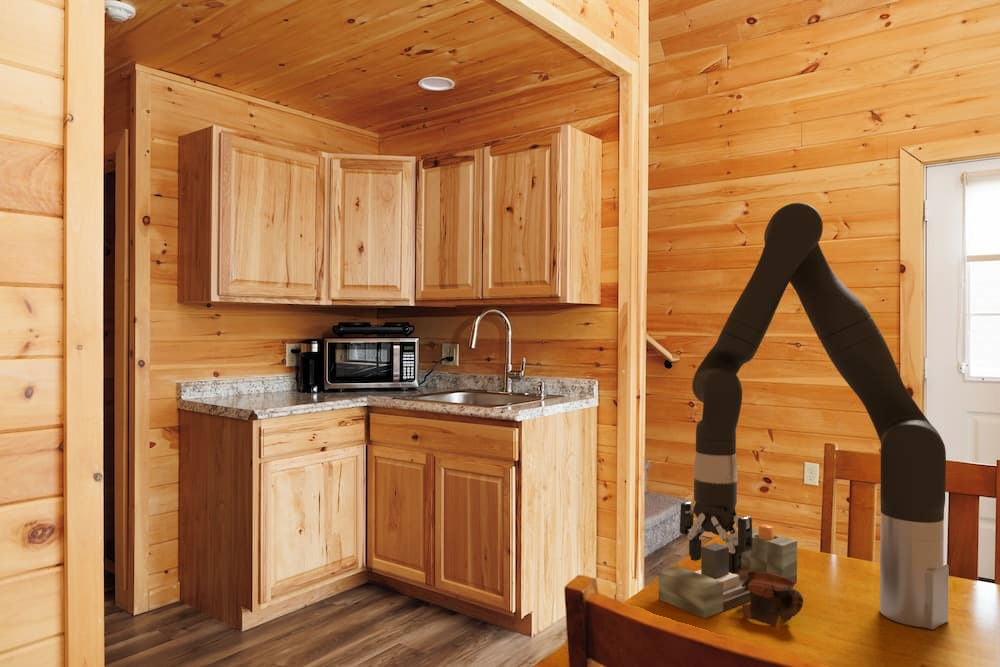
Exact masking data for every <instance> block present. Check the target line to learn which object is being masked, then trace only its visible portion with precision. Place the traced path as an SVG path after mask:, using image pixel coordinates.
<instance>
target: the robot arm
mask: <svg viewBox="0 0 1000 667" xmlns="http://www.w3.org/2000/svg"><path fill="white" fill-rule="evenodd" d="M823 224H824V223H823V218H822V216H821V215H820V213H819V211H818V210H817V209H816V208H815V207H813V206H812V205H810V204H807V203H803V202H793V203H789V204H786V205H784V206H781V207H780V208H779V209H778V210H777V211H775V212H774V213H773V215H772V216H771V217H770V219H769V221H768V222H767V226H766V227H765V231H764V233H763V234H764V235H763V236H764V237H763V241H764V246H763V249H762V252H761V255H760V257H759V260H758V262H757V265H756V266H755V268H754V270H753V273H752V275H751V277H750V279H749V280H748V282H747V284H746V285H745V287H744V288H743V291H742V293H741V294H740V296H739V298H738V299H737V301H736V303H735V304H734V306H733V308H732V310H731V312H730V313H729V316H728V317H727V320H726V321H725V323H724V326H723V328H722V330H721V332H720V334H719V336H718V338H717V341H716V342H715V344H714V345H713V347H712V348H711V349H710V350H709V352H708V353H707V354H706V356H705V357H704V358H703V359H702V361H701V363H700V365H699V366H698V367H697V370H696V371H695V373H694V376H693V378H692V384H691V386H692V387H691V388H692V393H693V395H694V397H695V398H696V399H697V400H698V401H699V402H701V403H703V405H702V406H703V407H702V416H701V420H699V421H698V422H697V423H696V424H697V425H696V428H695V455H694V461H693V462H694V463H693V501H694V502H695V503H694V502H693V501H692V500H690V501H685V502H682V503H680V511H679V512H680V515H679V516H680V517H679V534H681V535H685V536H686V537H687V539H688V542H689V543H688V553H689V554H688V555H689V556H690V559H691V561H694V562H696V561H699V560H700V561H701V547H702V539H701V537H702V536H703V534H704V533H705V532H706V533H712V534H713V535H716V536H719V537H720V538H721V540H722V541H723V542H724V543H725V545H726V546H728V548H729V573H731V574H735V573H738V572H739V570H741V568H742V553H743V552H746V551H749V550H752V548H753V546H752V529H753V519H752V517H751V516H750V515H746V516H741V515H738V514H737V511H736V506H737V503H738V462H737V434H736V432H737V426H738V423H739V419H740V413H741V408H742V405H743V404H742V401H743V388H742V382H741V380H740V378H739V376H738V375H737V374H738V373H739V371H740V369H741V368H742V366H743V365H744V364H747V363H749V362H751V361H752V360H753V358H754V356H755V355H756V353H757V351H758V349H759V348H760V345H761V343H762V341H763V340H764V337H765V335H766V333H767V331H768V329H769V327H770V324H771V322H772V320H773V319H774V316H775V313H776V311H777V308H778V307H779V305H780V302H781V300H782V297H783V296H784V293H785V291H786V289H787V287H788V285H789V283H790V285H791V286H792V288H793V289H794V292H795V293H796V294H797V297H798V299H799V301H800V303H801V306H802V308H803V310H804V312H805V313H806V316H807V318H808V320H809V323H810V324H811V325H812V328H813V329H814V332H815V333H816V336H817V337H818V339H819V341H820V343H821V345H822V347H823V348H824V350H825V353H827V354H826V355H827V356H828V358H829V359H830V361H831V362H832V364H833V366H834V367H835V369H836V370H837V372H838V373H839V374H840V375H841V377H842V378H843V380H844V381H845V382H846V384H848V386H849V387H850V388H851V389H852V391H853V392H854V393H855V394H856V395H857V397H858V399H859V400H860V401H861V403H862V405H863V407H864V409H865V410H866V412H867V414H868V416H869V418H870V420H871V422H872V425H873V427H874V430H875V432H876V434H877V436H878V440H879V442H880V493H879V494H880V495H879V499H880V502H879V503H880V528H879V529H880V532H879V533H880V538H879V539H880V541H879V542H880V544H879V547H880V549H879V551H880V552H879V554H880V555H879V612H880V613H881V614H882V616H884V617H885V618H887V619H889V620H891V621H894V622H896V623H898V624H899V623H900V624H902V625H906V626H911V627H917V628H918V627H919V628H925V629H929V630H935V629H937V628H938V627H940V626H942V625H944V624H945V623H947V622H949V595H950V594H949V592H950V591H949V588H950V587H949V584H950V582H949V578H950V575H949V574H950V572H949V571H950V570H949V564H948V563H946V562H945V561H944V557H945V556H944V554H945V553H944V552H945V550H944V546H945V544H944V542H945V540H944V539H945V538H944V537H945V507H946V506H945V505H946V486H947V484H946V482H947V481H946V478H947V477H946V476H947V472H946V471H947V454H946V453H947V452H946V445H945V443H944V440H943V439H942V436H941V435H940V433H939V431H938V430H937V429H936V428H935V426H933V424H932V423H931V422H930V420H928V418H927V417H926V415H925V414H924V413H923V412H922V410H921V408H919V406H918V405H917V403H916V402H915V400H914V399H913V398H912V396H911V394H910V393H909V391H908V390H907V387H906V386H905V384H904V382H903V379H902V378H901V375H900V373H899V370H898V368H897V364H896V362H895V360H894V357H893V356H892V353H891V350H890V348H889V346H888V345H887V344H888V343H887V342H886V340H885V338H884V336H883V334H882V333H881V331H880V329H879V327H878V326H877V324H876V323H875V322H876V321H875V320H874V318H873V317H872V316H871V314H870V312H869V311H868V309H867V308H866V307H865V305H864V304H863V303H862V302H861V301H860V299H859V298H858V297H857V296H856V295H855V294H854V293H853V292H852V291H851V290H850V289H849V288H848V286H846V285H845V284H844V283H843V282H842V281H841V280H840V279H839V278H838V276H837V275H836V274H835V272H834V271H833V270H832V269H831V266H830V265H829V263H828V261H827V258H826V256H825V255H824V253H823V250H822V248H821V246H820V241H821V239H822V235H823V231H824V230H823V229H824V225H823ZM694 515H695V517H696V520H695V522H694ZM735 524H736V525H735ZM728 532H729V534H728Z"/></svg>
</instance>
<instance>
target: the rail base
mask: <svg viewBox="0 0 1000 667" xmlns="http://www.w3.org/2000/svg"><path fill="white" fill-rule="evenodd" d="M758 532H759V529H755V528H752V546H753V548H752V550H749V551H746V552H743V553H742V568H741V570H739V572H738V573H735V574H736V575H739V587H736V588H733V589H730V590H728V591H725V592H723V582H721V581H718V580H715V579H712V578H710V577H707V576H704V575H701V574H698V573H695V571H693V570H690V569H687V568H683V567H681V566H678V565H675V566H672V567H669V568H666V569H665V568H664V569H662V570H659V571H658V600H659V601H662V602H664V603H667V604H669V605H671V606H675V607H677V608H679V609H681V610H684V611H686V612H688V613H691V614H693V615H696V616H698V617H701V618H703V619H706V618H709V617H712V616H714V615H717V614H720V613H722V612H725V611H728V610H730V609H733V608H735V607H737V606H740V605H743V604H746V603H748V602H751V601H750V591H749V590H746V591H745V590H744V589H745V587H742V584H743V583H744V582H745V581H746V580H747V579H748V578H749V575H748V573H749V572H765V573H771V574H775V575H779V576H782V577H785V578H787V579H790V580H791V581H792V582H793V583H794V584H796V583H797V582H798V540H795V539H792V538H789V537H783V536H781V535H777V534H774V539H773V540H770V541H768V540H765V539H761V538H758Z"/></svg>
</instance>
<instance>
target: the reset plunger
mask: <svg viewBox="0 0 1000 667" xmlns="http://www.w3.org/2000/svg"><path fill="white" fill-rule="evenodd" d="M758 530H759V532H758V538H761V539H765V540H768V541H770V540H773V539H774V535H775V533H774V532H775V528H774V526H773V525H770V524H758Z"/></svg>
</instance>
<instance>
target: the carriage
mask: <svg viewBox="0 0 1000 667" xmlns="http://www.w3.org/2000/svg"><path fill="white" fill-rule="evenodd" d="M729 552H730V550H729V548H728V546H727V545H724V544H721V543H717V542H713V543H709V544H706V545H701V559H700V561H701V564H700V566H701V567H700V568H701V569H698V570H696V571H694V572H695V573H698V574H701V575H704V576H707V577H710V578H712V579H715V580H718V581H721V582H723V592H725V591H728V590H730V589H733V588H736V587H739V575H736V574H731V573H729Z"/></svg>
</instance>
